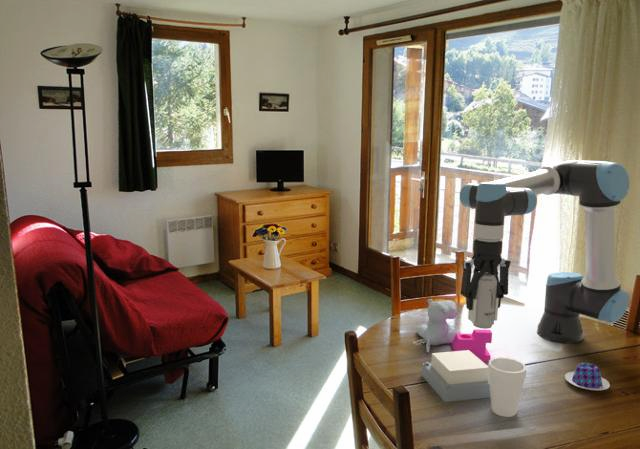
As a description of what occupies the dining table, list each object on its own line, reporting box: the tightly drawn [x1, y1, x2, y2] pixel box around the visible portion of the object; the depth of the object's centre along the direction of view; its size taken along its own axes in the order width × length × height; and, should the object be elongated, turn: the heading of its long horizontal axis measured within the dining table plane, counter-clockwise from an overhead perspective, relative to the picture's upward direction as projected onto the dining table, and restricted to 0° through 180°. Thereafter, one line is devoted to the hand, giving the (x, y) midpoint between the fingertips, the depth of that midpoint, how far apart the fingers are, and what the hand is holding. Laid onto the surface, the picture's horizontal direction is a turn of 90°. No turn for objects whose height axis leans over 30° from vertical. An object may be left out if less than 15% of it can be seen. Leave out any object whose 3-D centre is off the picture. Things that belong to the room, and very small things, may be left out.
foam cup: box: [487, 356, 527, 418], centre depth 137 cm, size 10×9×13 cm
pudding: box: [564, 362, 611, 391], centre depth 154 cm, size 12×12×5 cm
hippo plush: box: [412, 298, 461, 353], centre depth 183 cm, size 15×19×15 cm
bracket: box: [451, 329, 493, 364], centre depth 172 cm, size 12×10×10 cm
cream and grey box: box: [421, 350, 491, 403], centre depth 151 cm, size 16×16×8 cm
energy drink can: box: [471, 272, 497, 330], centre depth 144 cm, size 6×6×15 cm
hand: (482, 319), depth 145 cm, fingers closed on energy drink can, 6 cm apart
